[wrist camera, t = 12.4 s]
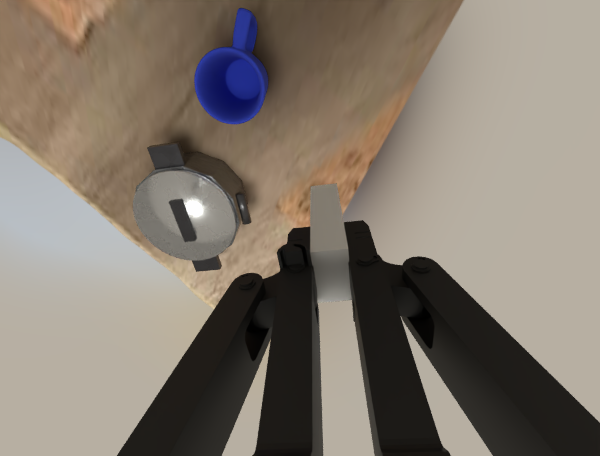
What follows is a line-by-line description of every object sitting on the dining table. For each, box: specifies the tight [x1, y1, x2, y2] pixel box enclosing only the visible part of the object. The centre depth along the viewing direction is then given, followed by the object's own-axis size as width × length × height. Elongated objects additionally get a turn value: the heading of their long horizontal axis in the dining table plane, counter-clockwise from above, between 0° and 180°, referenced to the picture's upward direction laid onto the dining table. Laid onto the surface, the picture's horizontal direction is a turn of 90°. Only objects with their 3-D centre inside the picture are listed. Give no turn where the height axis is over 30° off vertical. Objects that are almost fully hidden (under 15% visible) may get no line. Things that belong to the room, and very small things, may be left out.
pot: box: [135, 142, 251, 272], centre depth 51 cm, size 22×18×7 cm
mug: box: [195, 8, 268, 124], centre depth 39 cm, size 8×12×10 cm
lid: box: [133, 169, 236, 261], centre depth 48 cm, size 16×16×2 cm
